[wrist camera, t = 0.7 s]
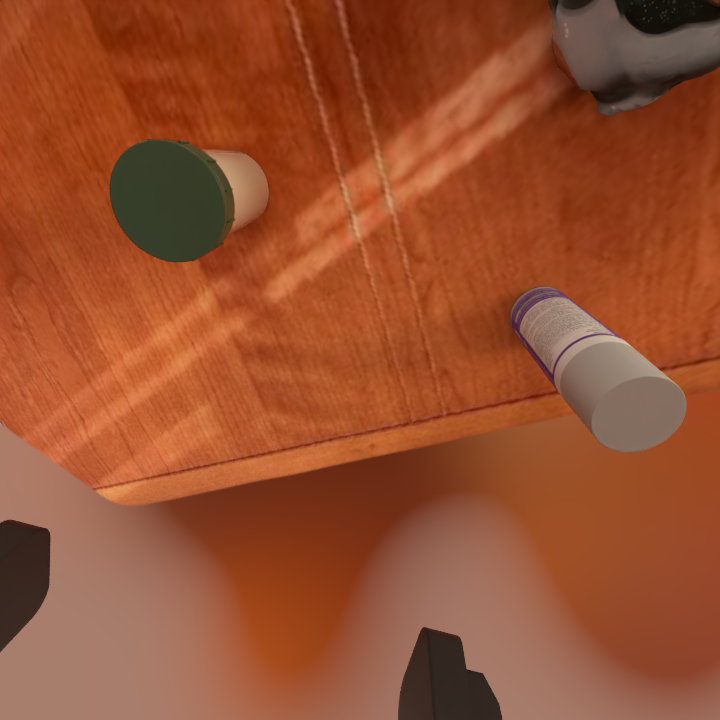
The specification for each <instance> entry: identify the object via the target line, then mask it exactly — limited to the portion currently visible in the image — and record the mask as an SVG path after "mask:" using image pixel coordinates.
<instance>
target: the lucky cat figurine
mask: <svg viewBox="0 0 720 720" xmlns="http://www.w3.org/2000/svg"><path fill="white" fill-rule="evenodd" d="M548 2H549V7H550V11H551V15H552V20H553V29H554V34H553V37H552V45H553V51H554V55H555V59H556V62H557V64H558V66H559V68H561V69H562V70H563V71H564V72H565V73H566V75H567V76H568V77H569V78H570V80H571V81H572V83H573V84H574V86H575V88H576V89H578V90H581V89H584V90H589V91H591V92H592V94H593V95H594V97H595V98H596V100H597V101H598V102H599V103H598V112H599V113H600V114H603V115H606V116H610V115H613V114H616V113H620V112H626V111H630V110H635V109H639V108H642V107H644V106H646V105H648V104H651V103H653V102H654V101H656V100H657V99H658V98H659V97H661V96H663V95H664V94H665V93H666V92H667V91H668V90H670V89H671V88H672V87H673V86H675V85H677V84H679V83H681V82H683V81H685V80H691V79H694V78H697V77H700V76H702V75H704V74H707V73H709V72H711V71H713V70H715V69H717V68H719V67H720V0H548Z"/></svg>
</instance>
